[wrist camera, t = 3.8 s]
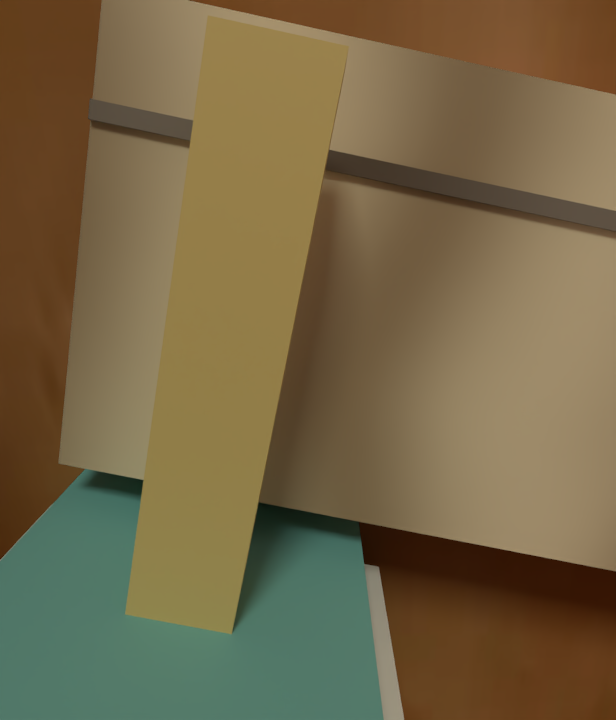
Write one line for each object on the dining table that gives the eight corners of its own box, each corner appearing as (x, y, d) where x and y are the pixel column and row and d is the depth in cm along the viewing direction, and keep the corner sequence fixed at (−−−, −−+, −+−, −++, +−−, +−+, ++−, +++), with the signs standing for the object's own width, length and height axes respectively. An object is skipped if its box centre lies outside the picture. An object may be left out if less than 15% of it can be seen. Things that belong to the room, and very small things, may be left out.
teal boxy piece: (84, 623, 14) (-423, 1502, 4) (148, 80, 11) (-1251, -1019, 1) (313, 666, 14) (299, 1598, 5) (443, 143, 11) (1308, -358, 1)
